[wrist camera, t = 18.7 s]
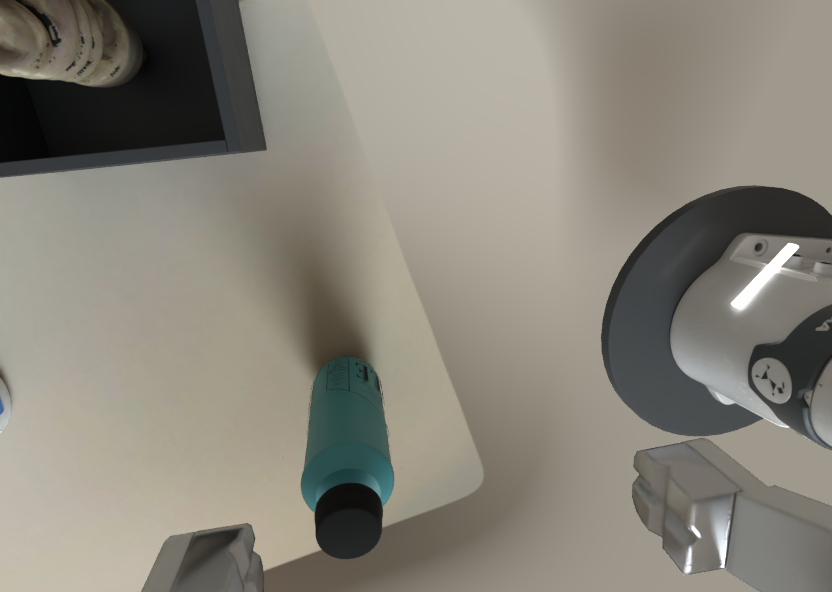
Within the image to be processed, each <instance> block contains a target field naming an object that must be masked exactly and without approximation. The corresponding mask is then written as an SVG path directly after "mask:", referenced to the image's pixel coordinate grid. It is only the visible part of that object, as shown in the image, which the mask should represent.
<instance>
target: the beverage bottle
mask: <svg viewBox="0 0 832 592" xmlns="http://www.w3.org/2000/svg"><path fill="white" fill-rule="evenodd" d="M374 370H375V369H373V368H372V367H371V365H369V364H367V363H366V362H365V361H363V360H360V359H358V358H354V357H342V358H337V359H334V360H332V361H330V362H329V363H327V364H326V365H325V366H324V367H323V368H322V369H321V370H320V371H319V372H318V374H317V376H316V378H315V381H314V382H313V384H314V385H313V390H312V392H313V394H312V399H311V395H310V399H311V400H310V401H312V402H311V407H310V406H309V407H310V409H311V411H310V410H309V411H310V416H309V418H310V419H309V424H308V426H309V433H308V432H307V434H308V436H307V437H308V440H307V448H306V456H305V464H304V471H303V474H302V478H301V492H302V495H303V498H304V500H305V502H306V504H307V505H308V507H309V508H310V509H311V510H312V511H313V512H314V513H315V525H316V539H317V542H318V544H319V546H320V548H321V549H322V550H323V551H324V552H325V553H327V554H328V555H330V556H332V557H335V558H339V559H353V558H357V557H360V556H363V555H364V554H366V553H368V552H369V551H371V550H372V549H373V548H374V547H375V546H376V544H377V543H378V541H379V539H380V536H381V533H382V517H383V508H382V507H383V506H384V504H385V503H386V502H387V501H388V499H389V497H390V495H391V493H392V490H393V486H394V472H393V467H392V465H391V459H390V458H391V457H390V453H389V446H390V445H389V444H388V436H389V435H388V436H387V430H388V429H387V430H386V427H387V425H386V423H385V417H384V412H385V411H384V410H383V404H382V397H381V395H383V392H382V394H381V391H380V385H381V383H380V384H379V381H380V380H379V379H378V376H377V374H378V373H377V374H376V372H375V371H374ZM380 382H381V381H380ZM311 389H312V387H311ZM381 389H382V386H381ZM383 399H384V398H383ZM383 403H384V402H383ZM309 405H310V404H309ZM387 428H388V427H387ZM388 433H389V432H388Z"/></svg>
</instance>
